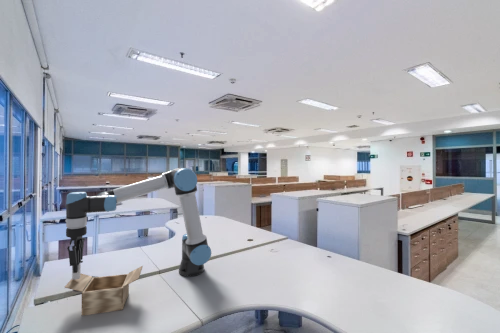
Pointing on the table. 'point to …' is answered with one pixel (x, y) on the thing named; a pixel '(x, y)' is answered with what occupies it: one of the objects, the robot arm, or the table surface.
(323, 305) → the table surface
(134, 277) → the flap
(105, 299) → the carton
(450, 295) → the table surface
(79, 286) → the far side flap
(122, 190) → the robot arm
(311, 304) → the table surface
